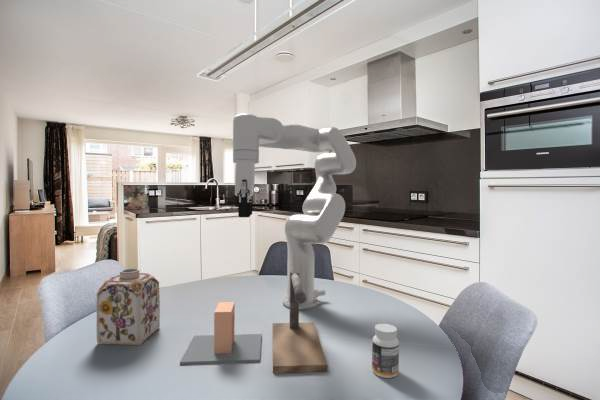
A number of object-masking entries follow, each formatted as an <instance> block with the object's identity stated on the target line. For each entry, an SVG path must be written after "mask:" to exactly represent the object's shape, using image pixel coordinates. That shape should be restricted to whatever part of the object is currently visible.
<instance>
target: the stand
mask: <svg viewBox="0 0 600 400" xmlns="http://www.w3.org/2000/svg"><path fill="white" fill-rule="evenodd" d="M305 301H306V295H305V293H304V292H303V289H302V286H301V283H300V280H299V271H290V308H289V322H273V323H272V374H285V373H286V374H287V373H288V374H289V373H311V372H312V373H315V372H328V362H327V359H326V356H325V353H324V350H323V346H322V344H321V341H320V337H319V335H318V331H317V328H316V325H315V322H313V321H312V322H307V321H306V322H300V317H299V316H300V315H299V314H300V313H299V312H300V309H299V304H302V303H304V302H305Z"/></svg>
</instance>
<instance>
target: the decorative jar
mask: <svg viewBox="0 0 600 400" xmlns="http://www.w3.org/2000/svg"><path fill="white" fill-rule="evenodd" d="M160 302H161V301H160V281H159V280H158V279H157V278H156V277H155V276H153V275H152V274H150V273H147V272H140V269H139V268H135V267H134V268H124V269H121V270H120V271H119V274H118V275H114V276H111V277H109V278H107V279H106V280H104V282H103V283H102V285H101V287H99V289H98V291H97V293H96V327H95V328H96V343H97V344H98V345H116V346H120V345H121V346H122V345H123V346H140V345H142V344H143V343H144V342H145V341H146V340H147V339H148V338H150V337H151V336H152V335H153V334H154V333H155V332H156V331H157V330H158V329H160V327H161V325H160V324H161V323H160V322H161V320H160V318H161V315H160V314H161V309H160V308H161V304H160Z"/></svg>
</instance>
